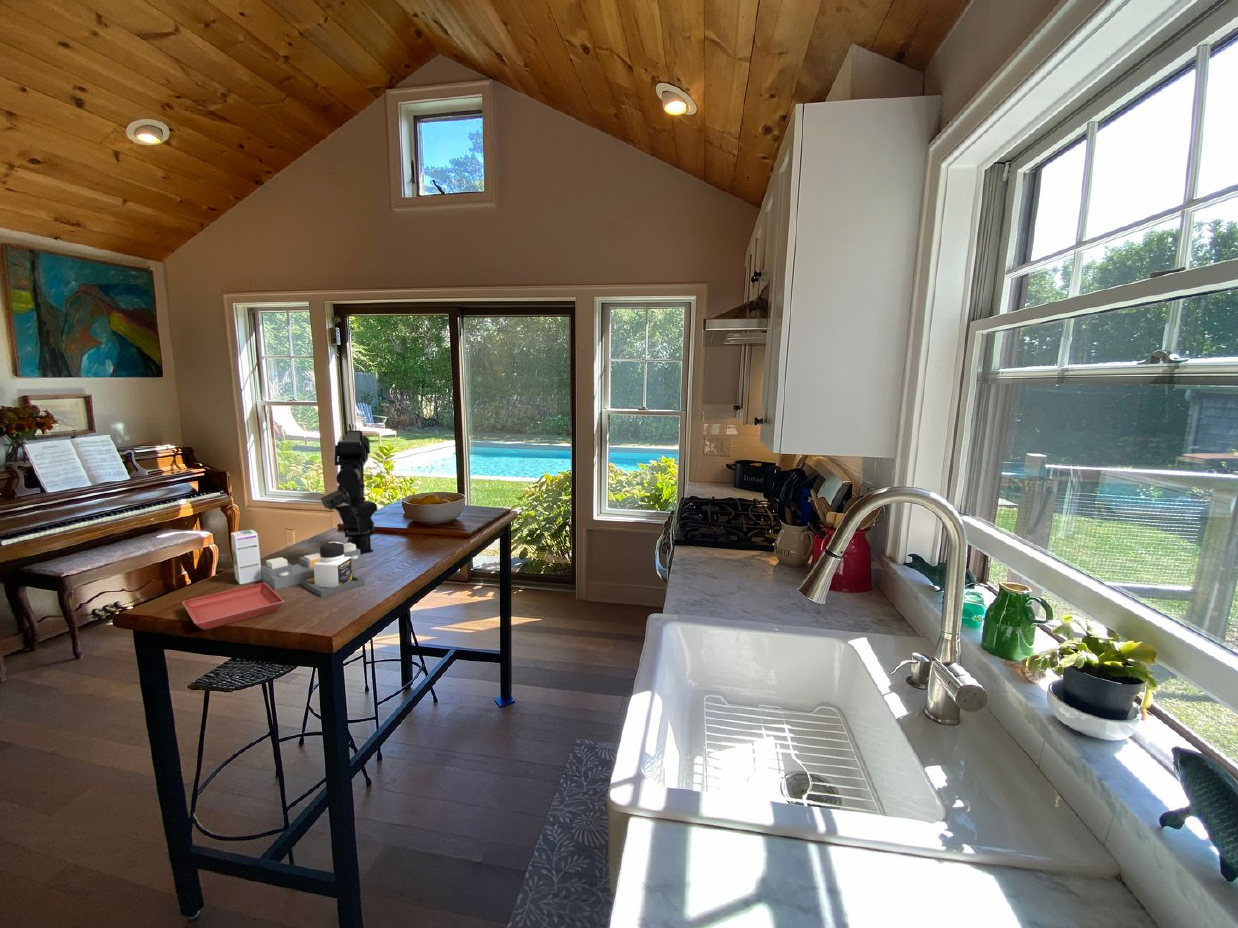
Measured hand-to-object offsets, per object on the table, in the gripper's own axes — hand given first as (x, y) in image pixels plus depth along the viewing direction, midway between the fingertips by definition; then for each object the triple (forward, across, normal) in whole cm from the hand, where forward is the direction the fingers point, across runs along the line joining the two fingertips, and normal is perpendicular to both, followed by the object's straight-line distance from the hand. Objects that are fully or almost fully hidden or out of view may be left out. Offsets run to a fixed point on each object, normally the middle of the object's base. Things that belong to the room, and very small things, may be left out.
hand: (353, 530), depth 163 cm
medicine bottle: (+12, +9, -11) cm, 19 cm away
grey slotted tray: (+13, -4, -10) cm, 17 cm away
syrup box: (+13, -14, -25) cm, 31 cm away
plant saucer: (+13, +8, -35) cm, 38 cm away
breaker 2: (+9, -6, 0) cm, 10 cm away
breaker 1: (+8, -6, -20) cm, 22 cm away
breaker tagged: (+10, -6, -10) cm, 15 cm away
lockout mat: (+12, +9, -11) cm, 19 cm away
